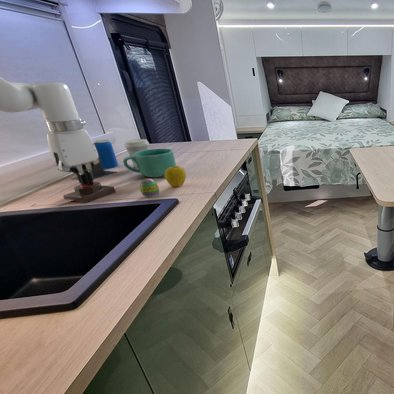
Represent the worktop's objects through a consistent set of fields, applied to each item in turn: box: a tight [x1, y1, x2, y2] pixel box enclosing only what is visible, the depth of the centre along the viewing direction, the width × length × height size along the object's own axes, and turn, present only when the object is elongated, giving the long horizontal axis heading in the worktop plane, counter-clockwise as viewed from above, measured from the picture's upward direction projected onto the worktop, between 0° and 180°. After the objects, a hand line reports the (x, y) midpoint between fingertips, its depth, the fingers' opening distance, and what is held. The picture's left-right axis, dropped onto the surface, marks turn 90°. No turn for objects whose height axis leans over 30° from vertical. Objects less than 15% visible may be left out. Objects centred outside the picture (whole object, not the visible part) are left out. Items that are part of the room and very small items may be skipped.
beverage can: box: [92, 139, 119, 170], centre depth 123 cm, size 6×6×12 cm
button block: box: [62, 181, 117, 205], centre depth 94 cm, size 10×8×4 cm
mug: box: [122, 148, 177, 179], centre depth 113 cm, size 17×13×10 cm
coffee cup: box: [124, 138, 150, 169], centre depth 123 cm, size 9×8×12 cm
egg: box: [139, 178, 160, 199], centre depth 93 cm, size 5×5×6 cm
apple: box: [164, 165, 187, 187], centre depth 102 cm, size 6×6×8 cm
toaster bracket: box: [70, 145, 118, 181], centre depth 111 cm, size 11×9×13 cm
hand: (87, 184), depth 93 cm, fingers closed
